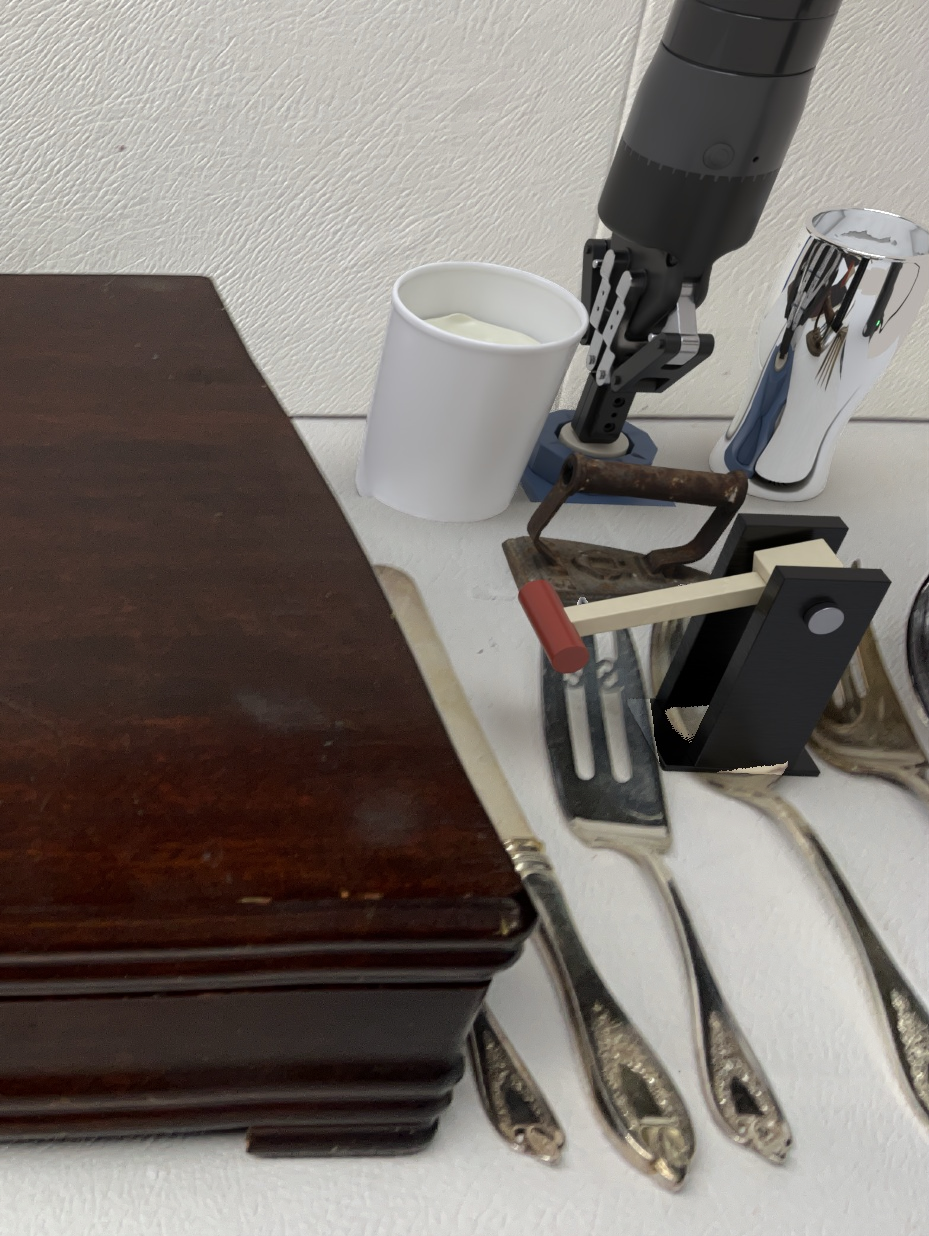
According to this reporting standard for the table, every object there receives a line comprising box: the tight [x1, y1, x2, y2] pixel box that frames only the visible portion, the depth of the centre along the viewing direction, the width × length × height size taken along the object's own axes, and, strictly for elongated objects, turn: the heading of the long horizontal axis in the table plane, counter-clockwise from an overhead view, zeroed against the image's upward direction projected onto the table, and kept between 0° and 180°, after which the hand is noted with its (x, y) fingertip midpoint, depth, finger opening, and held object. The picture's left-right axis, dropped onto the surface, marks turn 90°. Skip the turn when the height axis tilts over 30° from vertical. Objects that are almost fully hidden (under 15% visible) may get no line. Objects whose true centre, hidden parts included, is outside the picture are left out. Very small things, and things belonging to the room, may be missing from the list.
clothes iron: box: [501, 452, 748, 608], centre depth 91 cm, size 7×11×10 cm, turn 84°
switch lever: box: [517, 539, 846, 675], centre depth 78 cm, size 12×5×2 cm, turn 87°
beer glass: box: [708, 205, 929, 503], centre depth 98 cm, size 7×7×15 cm
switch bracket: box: [649, 512, 893, 778], centre depth 80 cm, size 7×6×12 cm
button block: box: [519, 408, 677, 508], centre depth 102 cm, size 10×8×2 cm
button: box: [558, 422, 629, 458], centre depth 101 cm, size 4×4×2 cm
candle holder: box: [354, 260, 589, 524], centre depth 97 cm, size 10×10×12 cm
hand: (592, 436), depth 101 cm, fingers closed
